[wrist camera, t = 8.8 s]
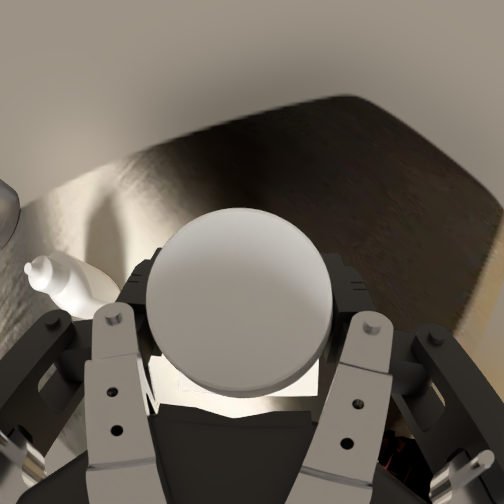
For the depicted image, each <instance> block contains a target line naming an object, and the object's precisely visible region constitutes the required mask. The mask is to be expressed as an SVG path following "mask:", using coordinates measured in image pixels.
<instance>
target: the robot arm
mask: <svg viewBox="0 0 504 504" xmlns="http://www.w3.org/2000/svg"><path fill="white" fill-rule="evenodd" d="M19 209H20V203H19V198H18V194H17V193H16V191H15V190H14V189H13V188H11V187H10V186H9V185H7V184H6V183H5V182H3V181H2V180H1V179H0V249H2V248H3V247H4V246H5V244H6V243H7V242H8V240H9V239H10V237H11V235H12V234H13V231H14V229H15V227H16V224H17V221H18V216H19ZM161 250H162V248H157V250H156V251H155V253H154V255H153V256H152V258H151V260H146V259H145V260H144V261H142V262H141V263H140V264H138V265H137V266H136V267H135V269H134V270H133V272H132V273H131V276H130V277H129V278H128V280H127V282H126V284H125V285H124V287H123V289H122V290H121V292H120V294H119V296H118V297H117V299H116V301H115V302H114V303H109V304H106V305H104V306H102V307H101V308H99V309H98V310H97V311H96V312H95V314H94V316H93V319H89V320H81V321H73V320H72V318H71V315H70V314H69V312H67V311H65V310H60V309H58V310H52V311H49V312H47V313H45V314H44V315H42V316H41V317H40V318H39V319H38V320H37V321H36V322H35V323H34V324H33V325H32V326H31V327H30V328H29V330H28V331H27V332H26V333H25V334H24V335H23V336H22V337H21V338H20V339H19V340H18V341H17V342H16V343H15V344H14V346H13V347H12V348H11V349H10V350H9V351H8V352H7V353H6V354H5V356H4V357H3V358H2V359H1V360H0V504H428V503H426V502H425V501H424V500H423V499H421V498H420V497H419V496H418V495H416V494H415V493H414V492H413V491H411V490H410V489H409V488H408V487H406V486H405V485H404V484H403V483H401V482H400V481H399V480H398V479H397V478H395V477H394V476H393V475H392V474H391V473H389V472H388V471H387V470H386V469H385V468H383V467H382V466H381V465H380V464H379V463H378V462H377V459H378V455H379V451H380V446H381V442H382V437H383V432H384V427H385V422H386V417H387V411H388V405H389V399H390V393H391V395H392V397H393V399H394V401H395V403H396V404H397V406H398V408H399V410H400V412H401V414H402V415H403V417H404V419H405V421H406V423H407V425H408V427H409V429H410V430H411V432H412V434H413V436H414V438H415V440H416V442H417V444H418V446H419V448H420V450H421V452H422V454H423V455H424V457H425V459H426V461H427V463H428V465H429V467H430V469H431V471H432V473H433V475H434V477H433V478H432V481H431V485H430V491H431V492H430V494H429V498H430V500H431V501H432V502H433V504H504V403H503V402H502V400H501V399H500V397H499V396H498V395H497V393H496V392H495V390H494V389H493V387H492V386H491V385H490V383H489V382H488V381H487V379H486V378H485V376H484V375H483V374H482V372H481V371H480V370H479V368H478V367H477V366H476V365H475V363H474V362H473V361H472V359H471V358H470V357H469V355H468V354H467V353H466V352H465V350H464V349H463V348H462V347H461V345H460V344H459V343H458V342H457V340H456V339H455V338H454V337H453V335H452V334H451V333H450V332H449V331H448V330H447V329H445V328H444V327H442V326H440V325H437V324H432V323H428V324H424V325H422V326H420V327H419V328H418V330H417V332H416V334H412V333H407V332H402V331H398V330H395V329H393V325H392V323H391V322H390V320H389V319H388V318H387V317H385V316H384V315H382V314H380V313H377V312H376V310H375V307H374V305H373V303H372V300H371V298H370V296H369V294H368V291H366V287H365V285H364V284H363V280H362V278H361V276H360V274H359V273H358V272H357V271H356V270H355V269H354V268H353V267H352V266H344V265H343V262H342V260H341V258H340V255H339V254H338V253H319V254H320V255H321V257H322V259H323V261H324V263H325V266H326V268H327V271H328V274H329V278H330V282H331V289H332V301H333V319H332V327H331V331H330V335H329V338H328V341H327V343H326V346H325V348H324V350H323V351H324V356H325V361H326V363H335V364H336V368H337V369H336V372H335V375H334V378H333V381H332V384H331V387H330V390H329V393H328V396H327V399H326V402H325V405H324V407H323V410H322V413H321V416H320V418H319V421H318V422H314V421H312V419H311V411H273V412H268V413H263V414H258V415H252V416H247V417H241V418H229V417H225V416H222V415H218V414H215V413H212V412H208V411H205V410H202V409H199V408H196V407H186V406H177V405H169V404H161V403H160V406H159V408H158V404H157V400H156V395H155V391H154V386H153V381H152V376H151V371H150V367H149V364H148V363H149V360H150V357H151V355H153V356H161V355H162V352H161V350H160V348H159V347H158V345H157V343H156V341H155V339H154V337H153V335H152V332H151V329H150V326H149V322H148V317H147V309H146V292H147V284H148V279H149V275H150V272H151V269H152V267H153V264H154V262H155V260H156V257H157V256H158V254H159V253H160V251H161ZM53 363H54V365H55V367H56V369H57V370H56V371H55V372H54V374H53V375H52V376H51V377H50V379H49V380H48V381H47V383H46V384H45V385H44V386H43V388H42V389H41V390H40V392H38V383H39V381H40V379H41V378H42V376H43V375H44V374H45V373H46V371H47V370H48V369H49V368H50V366H51V365H52V364H53ZM432 383H434V384H435V386H436V387H437V389H438V390H439V392H440V393H441V395H442V396H443V398H444V401H445V406H444V405H443V403H442V401H441V400H440V398H439V397H438V395H437V394H436V392H435V390H434V389H433V387H432V386H431V385H432ZM84 396H85V418H86V434H87V446H88V450H86V451H85V452H83V453H82V454H80V455H79V456H78V457H76V458H75V459H73V460H72V461H70V462H69V463H67V464H66V465H65V466H63V467H61V468H60V469H58V470H57V471H55V472H54V473H52V474H51V475H49V476H48V477H47V475H46V471H45V470H44V469H45V462H44V457H45V456H46V454H47V452H48V451H49V449H50V448H51V446H52V444H53V443H54V441H55V440H56V438H57V437H58V435H59V433H60V432H61V430H62V429H63V427H64V426H65V424H66V423H67V421H68V420H69V418H70V417H71V415H72V414H73V412H74V411H75V409H76V408H77V406H78V405H79V403H80V402H81V400H82V399H83V397H84Z"/></svg>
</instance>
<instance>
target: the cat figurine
mask: <svg viewBox="0 0 504 504" xmlns="http://www.w3.org/2000/svg"><path fill="white" fill-rule="evenodd" d="M377 460H379V464H380V465H381V466H382V467H383V468H385V469H386V470H387V471H388V472H389V473H391V474H392V475H393V476H394V477H395V478H397V479H398V480H399V481H400V482H401V483H403V484H404V485H405V486H406V487H408V488H409V489H410V490H411V491H413V492H414V493H415V494H416V495H418V496H419V497H420V498H421V499H423V500H424V501H425V502H426V503H428V504H433V502H432V501H431V500H430V498H429V494H430V492H431V491H430V485H431V481H432V478H433V477H434V475H433V473H432V471H431V469H430V467H429V465H428V463H427V461H426V459H425V457H424V455H423V454H422V452H421V450H420V448H419V446H418V444H417V442H416V440H415V439H411V438H405V437H395V431H391V430H387V431H385V432H384V433H383V437H382V442H381V446H380V451H379V455H378V459H377Z"/></svg>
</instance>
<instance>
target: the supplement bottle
mask: <svg viewBox="0 0 504 504" xmlns="http://www.w3.org/2000/svg"><path fill="white" fill-rule="evenodd" d="M146 309H147V317H148V322H149V326H150V329H151V332H152V335H153V337H154V339H155V341H156V343H157V345H158V347H159V348H160V350H161V352H162V353H163V354H164V356H165V357H166V358H167V359H168V360H169V362H170V363H171V364H172V365H173V366H174V367H175V368H176V369H177V370H179V371H180V372H181V373H182V374H184V375H185V376H186V377H187V378H188V379H189V380H191V381H192V382H194V383H195V384H197V385H198V386H200V387H202V388H204V389H206V390H208V391H210V392H213V393H215V394H219V395H223V396H227V397H234V398H255V397H260V396H265V395H268V394H272V393H274V392H277V391H280V390H282V389H284V388H286V387H288V386H290V385H291V384H293V383H295V382H296V381H298V380H299V379H300V378H301V377H302V376H304V375H305V374H306V373H307V372H308V371H309V370H310V369H311V367H312V366H313V365H314V364H315V363H316V361H317V360H318V358H319V357H320V355H321V353H322V352H323V350H324V348H325V346H326V343H327V341H328V338H329V335H330V331H331V327H332V319H333V301H332V289H331V282H330V278H329V274H328V271H327V268H326V266H325V263H324V261H323V259H322V257H321V255H320V254H319V252H318V250H317V249H316V248H315V246H314V245H313V244H312V242H311V241H310V240H309V239H308V238H307V237H306V236H305V235H304V234H303V233H302V232H301V231H300V230H299V229H298V228H297V227H295V226H294V225H292V224H291V223H289V222H288V221H286V220H284V219H282V218H280V217H278V216H276V215H274V214H271V213H268V212H265V211H261V210H256V209H249V208H228V209H222V210H218V211H214V212H211V213H207V214H205V215H202V216H200V217H198V218H196V219H194V220H192V221H191V222H189V223H187V224H186V225H184V226H183V227H182V228H181V229H179V230H178V231H177V232H176V233H175V234H174V235H173V236H172V237H171V238H170V239H169V240H168V241H167V243H166V244H165V245H164V247H163V248H162V250H161V251H160V253H159V254H158V256H157V257H156V260H155V262H154V264H153V267H152V269H151V272H150V275H149V279H148V284H147V292H146Z"/></svg>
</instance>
